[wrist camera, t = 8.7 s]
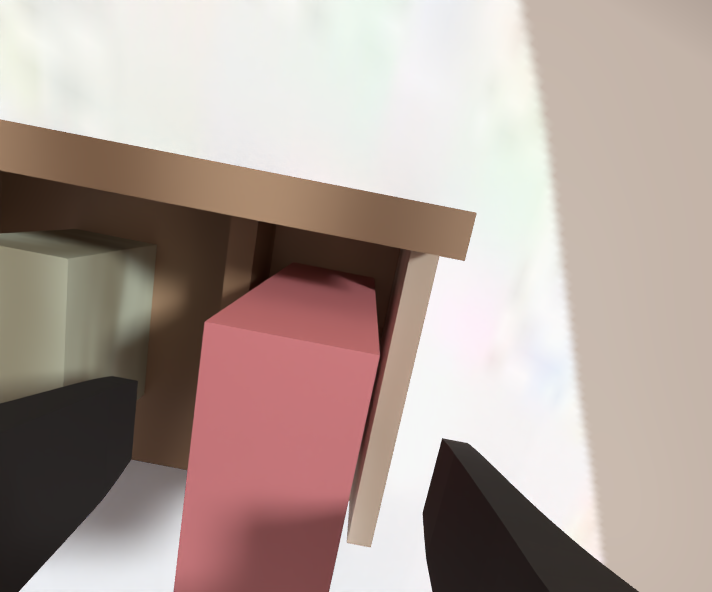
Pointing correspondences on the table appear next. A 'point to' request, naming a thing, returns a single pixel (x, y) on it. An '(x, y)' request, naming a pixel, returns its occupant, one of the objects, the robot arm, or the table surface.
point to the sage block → (72, 309)
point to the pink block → (278, 433)
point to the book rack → (235, 265)
